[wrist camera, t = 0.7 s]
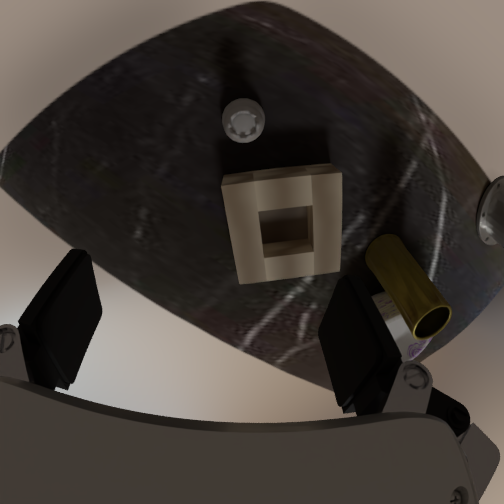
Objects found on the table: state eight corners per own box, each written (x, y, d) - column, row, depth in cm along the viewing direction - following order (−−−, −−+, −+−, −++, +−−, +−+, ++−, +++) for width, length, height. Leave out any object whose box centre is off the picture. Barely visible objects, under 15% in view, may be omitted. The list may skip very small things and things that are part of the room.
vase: (366, 235, 34) (417, 308, 22) (405, 230, 34) (462, 296, 22) (362, 273, 38) (402, 349, 25) (398, 267, 37) (445, 336, 25)
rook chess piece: (249, 90, 25) (251, 86, 18) (273, 123, 27) (283, 132, 20) (213, 113, 26) (203, 118, 20) (237, 146, 28) (236, 162, 22)
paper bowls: (412, 327, 45) (428, 358, 38) (338, 352, 47) (348, 387, 40) (421, 264, 37) (446, 296, 31) (331, 291, 39) (346, 331, 32)
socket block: (330, 163, 29) (341, 172, 26) (331, 253, 36) (339, 271, 32) (223, 175, 30) (221, 186, 27) (239, 265, 36) (239, 284, 33)
